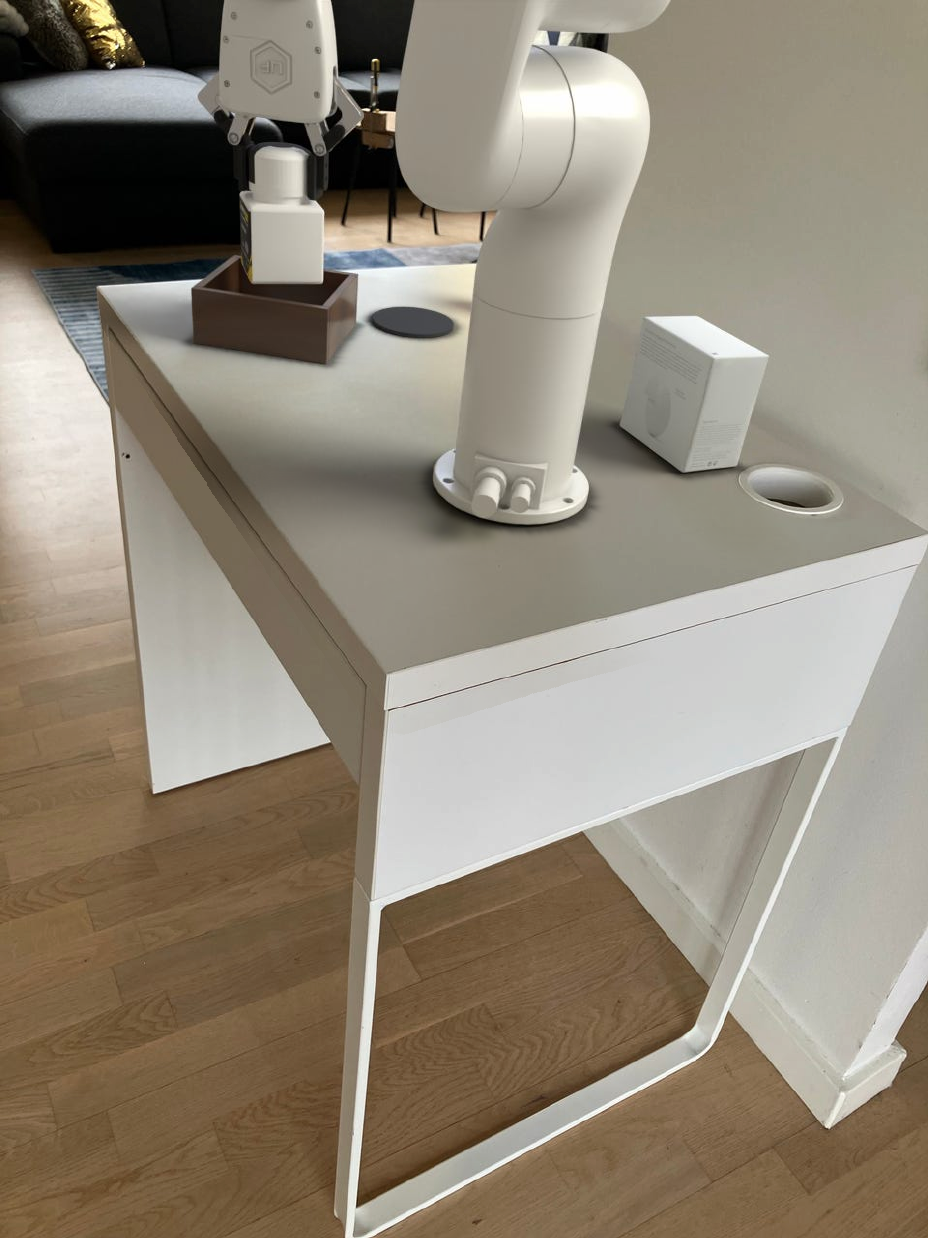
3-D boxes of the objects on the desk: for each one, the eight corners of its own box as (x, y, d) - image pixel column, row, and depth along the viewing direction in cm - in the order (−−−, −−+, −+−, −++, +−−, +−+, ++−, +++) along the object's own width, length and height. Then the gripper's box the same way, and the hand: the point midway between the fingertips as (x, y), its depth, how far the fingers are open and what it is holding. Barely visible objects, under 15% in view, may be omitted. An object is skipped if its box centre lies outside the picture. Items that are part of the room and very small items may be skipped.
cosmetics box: (740, 467, 92) (773, 353, 86) (682, 475, 89) (711, 358, 83) (673, 419, 99) (698, 311, 93) (617, 425, 97) (640, 315, 91)
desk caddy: (326, 364, 101) (327, 309, 98) (193, 343, 102) (190, 287, 99) (356, 324, 112) (358, 273, 109) (235, 305, 113) (234, 254, 110)
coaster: (446, 342, 110) (446, 339, 110) (364, 329, 111) (364, 326, 110) (459, 317, 118) (459, 313, 117) (382, 305, 118) (382, 301, 118)
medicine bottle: (240, 264, 105) (237, 136, 98) (310, 264, 107) (311, 139, 100) (250, 284, 99) (247, 150, 93) (323, 285, 101) (325, 154, 95)
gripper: (167, -38, 86) (180, 188, 96) (367, -15, 85) (359, 212, 95) (199, -39, 93) (208, 174, 103) (386, -17, 91) (377, 197, 101)
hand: (281, 191), depth 99 cm, fingers closed on medicine bottle, 6 cm apart
